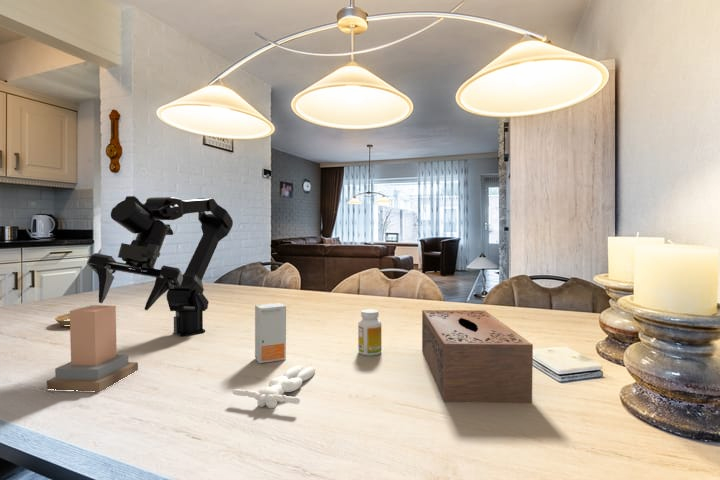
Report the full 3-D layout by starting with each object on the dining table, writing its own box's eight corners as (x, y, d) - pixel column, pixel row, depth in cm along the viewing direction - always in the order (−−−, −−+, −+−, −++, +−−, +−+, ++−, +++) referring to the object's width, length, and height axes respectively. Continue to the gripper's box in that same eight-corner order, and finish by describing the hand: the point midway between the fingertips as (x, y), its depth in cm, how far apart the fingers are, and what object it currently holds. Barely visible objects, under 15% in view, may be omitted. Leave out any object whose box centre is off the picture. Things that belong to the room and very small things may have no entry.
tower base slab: (91, 373, 76) (91, 360, 76) (138, 374, 76) (137, 362, 76) (46, 394, 67) (46, 380, 66) (99, 396, 66) (99, 382, 66)
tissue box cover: (422, 352, 88) (422, 310, 87) (484, 352, 87) (484, 310, 87) (443, 403, 62) (444, 344, 62) (532, 404, 61) (532, 344, 61)
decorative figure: (281, 360, 78) (227, 385, 60) (336, 366, 74) (295, 394, 57) (280, 377, 77) (226, 407, 60) (335, 384, 74) (294, 418, 57)
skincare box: (259, 364, 79) (258, 308, 79) (254, 358, 83) (254, 304, 83) (287, 360, 82) (286, 305, 82) (281, 354, 86) (281, 302, 85)
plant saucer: (41, 328, 109) (41, 319, 109) (85, 316, 124) (85, 309, 124) (86, 330, 107) (85, 321, 107) (125, 318, 122) (125, 310, 122)
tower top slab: (90, 363, 75) (89, 353, 75) (128, 364, 75) (128, 354, 74) (55, 379, 67) (55, 368, 67) (98, 380, 67) (98, 369, 66)
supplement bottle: (384, 350, 88) (384, 309, 88) (376, 357, 83) (376, 314, 83) (364, 347, 91) (364, 307, 90) (354, 354, 86) (354, 312, 85)
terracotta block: (93, 355, 74) (92, 305, 73) (116, 356, 73) (115, 305, 73) (71, 364, 69) (69, 310, 68) (95, 365, 68) (94, 311, 68)
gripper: (93, 218, 80) (59, 287, 73) (185, 236, 84) (161, 303, 77) (109, 240, 90) (81, 303, 83) (191, 255, 93) (170, 316, 86)
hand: (123, 306), depth 82 cm, fingers open, 9 cm apart
